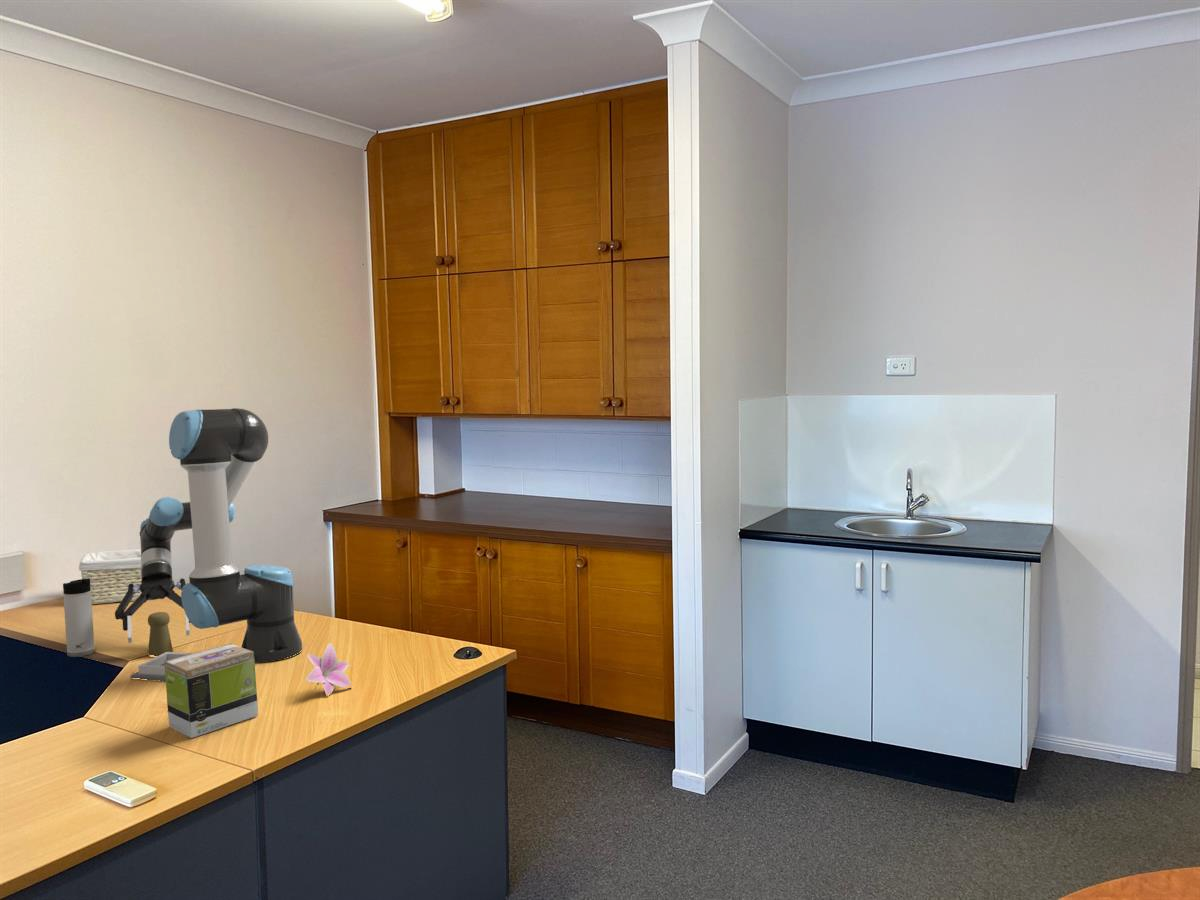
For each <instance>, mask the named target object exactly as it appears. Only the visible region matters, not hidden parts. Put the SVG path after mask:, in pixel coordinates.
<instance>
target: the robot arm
mask: <svg viewBox="0 0 1200 900" xmlns="http://www.w3.org/2000/svg"><path fill="white" fill-rule="evenodd" d="M168 443H169V445H168V446H169V450H170V453H171V456H172V457H173V458H174V459H177V460H179V463H180V464H179V465H180V467H181V468H182V469H184V470H185V471H186V472H187V478H188V489H189V490H188V491H189V492H188V493H189V502H181V501H180V500H178V498H175V497H173V498H172V497H170V496H166V497H160V498H159V499H158V500H156V502H155V503H154V504H153V506H152V508H151V509H150V512H149V516H148V518H145V520H143V521H142V522H141V524H140V527H139V528H140V530H139V537H140V549H141V569H142V570H141V580H142V583H141V585H133V584H132V583H131V584H129V586H128V591H127V593H126V595H125V596H124V598H123V600H122V601H121V602H120V603H119V605H118V606H117V608H116V610H115V612H114V618H115V620H122V629H123V631H124V632H126V631H127V642H128V644H132V642H133V640H132V639H133V638H132V635H133V634H132V632H133V631H132V616H133V615H134V614H135V613H136V612H137V611H138V610H139V609H140V608H141V607H142V606H143V604H145V603H147V602H148V601H149V600H148V599H150V600H151V601H155V600H164V599H165V598H167V599H169V600H171V601H172V602H174V603H175V604H176V605H177V606H179V607H180V608H182V609H183V610H184V616H185V617H184V619H185V636H187V637H188V636H190V624H191V625H193V627H195V628H196V629H199V630H203V629H204V630H205V629H209V628H218V627H220V626H223V625H224V626H225V625H229V624H234V623H238V622H244V621H246V630H245V633H244V637H243V639H242V642H241V643H242V644H241V646H240V647H241V648H244V649H247V650H250V651H253V652H254V661H255V663H256V662H257V663H266V662H268V661H270V662H274V661H273V660H278V661H280V660H279V659H283V660H285V659H284V658H287V657H290V656H293V655H295V654H297V653H299V652H300V651H301V650H302V651H303V641H302V638H301V636H300V633H299V631H298V628H297V626H296V623H295V609H294V608H295V607H294V580H293V574H292V571H291V569H289V568H288V567H285V566H281V565H271V564H257V565H255V564H254V565H249V566H246V567H245V568H244V570H243V574H240V573H241V572H240V569H239V568H238V566H236V565H235V564H234V563H233V553H232V552H233V551H232V539H231V529H230V528H231V527H230V524H231V523H232V522H233V520H234V518H235V512H236V511H235V510H236V509H235V505H234V503H233V501H234V499H235V498H236V497H237V495H238V493H239V491H240V489H241V487H242V486H243V483H244V482H245V481H246V479H247V477H248V475H249V474H250V472H251V469H252V468H253V466H254V465H255V463H257V462H259V461H260V460H261V459H262V458H263V456H264V454H265V453H266V451H267V448H268V446H269V433H268V429H267V426H266V425H265V423H264V422H263V420H262V419H261V418H260V417H259V416H258V415H257V414H255V412H252V411H251V410H249V409H245V408H239V407H237V408H236V407H235V408H218V409H213V408H212V409H192V410H185V411H181V412H179V413H178V414H177V415H175V417H174V419H173V420H172V422H171V425H170V429H169V435H168ZM191 529H192V541H193V552H194V553H193V556H194V568H193V570H192V571H191V572H190V573H189V577H188V579H189V582H188V583H187V582H186V580H185V578H182V577H181V578H180V579H179V580H177V581H174V579H173V569H172V565H173V564H172V552H171V551H172V550H171V549H172V547H171V545H172V543H171V542H172V538H173V536H174V534H175V532H177V531H178V532H179V531H184V530H191ZM175 588H177V589H178V590H181V593H180V594H178V593H176V591H175V590H174V589H175ZM138 590H140V591H141V592H142V593H141V594H140V596H139V597H138V598H137V599H136V600H135V601H131V599H132V598H133V595H134V594H136V593H137V591H138ZM131 602H132V604H130V603H131ZM129 604H130V605H129ZM302 651H301V652H302ZM301 652H300V653H301ZM300 653H299V654H300ZM297 655H298V654H297ZM295 656H296V655H295ZM293 657H294V656H293ZM290 658H291V657H290ZM287 659H288V658H287Z"/></svg>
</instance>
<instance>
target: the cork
mask: <svg viewBox="0 0 1200 900" xmlns="http://www.w3.org/2000/svg"><path fill="white" fill-rule="evenodd" d="M170 618H171V617H170V615H169V614H168V612H165V611H158V612H157V611H155V612H153V613H150V615H148V617H147V624H148V625H149V627H150V628H149V639H148V650H147V655H148V654H149V655H154V656H159V655H161V654H164V653H166V652H174V649H173V646H172V640H171V635H170V629H169V626H168V625H169V623H170V622H171V621H170V620H171V619H170Z"/></svg>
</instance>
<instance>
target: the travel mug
mask: <svg viewBox="0 0 1200 900" xmlns="http://www.w3.org/2000/svg"><path fill="white" fill-rule="evenodd" d="M62 588H63V589H62V590H63V611H64V623H65V624H64V625H65V637H66V638H65V639H66V655H67V656H68V657H72V658H78V657H79V658H80V657H85V656H89V655H91V654H93V653H94V652H95V650H96V649H95V633H94V622H93V621H94V619H93V618H94V617H93V604H92V601H91V588H90V579H82V578H81V579H74V580H70V582H64V583H62Z"/></svg>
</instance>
